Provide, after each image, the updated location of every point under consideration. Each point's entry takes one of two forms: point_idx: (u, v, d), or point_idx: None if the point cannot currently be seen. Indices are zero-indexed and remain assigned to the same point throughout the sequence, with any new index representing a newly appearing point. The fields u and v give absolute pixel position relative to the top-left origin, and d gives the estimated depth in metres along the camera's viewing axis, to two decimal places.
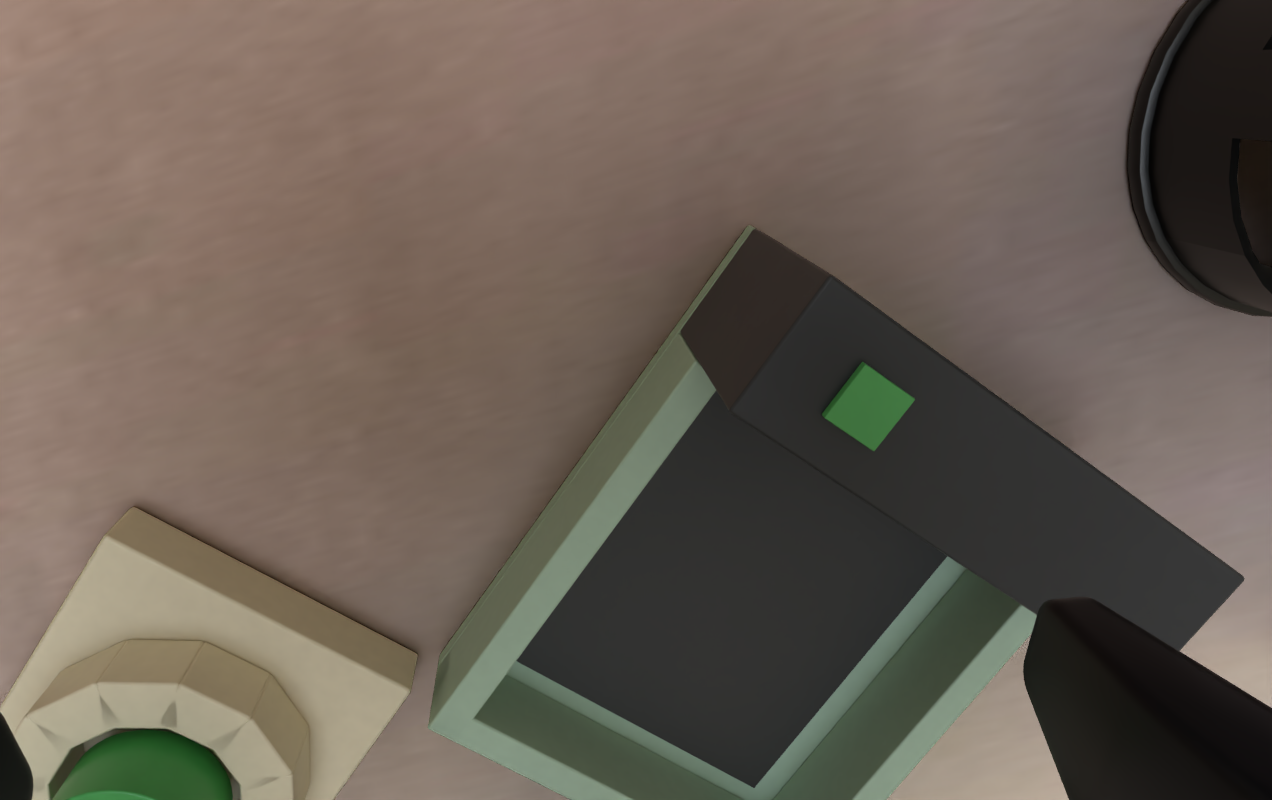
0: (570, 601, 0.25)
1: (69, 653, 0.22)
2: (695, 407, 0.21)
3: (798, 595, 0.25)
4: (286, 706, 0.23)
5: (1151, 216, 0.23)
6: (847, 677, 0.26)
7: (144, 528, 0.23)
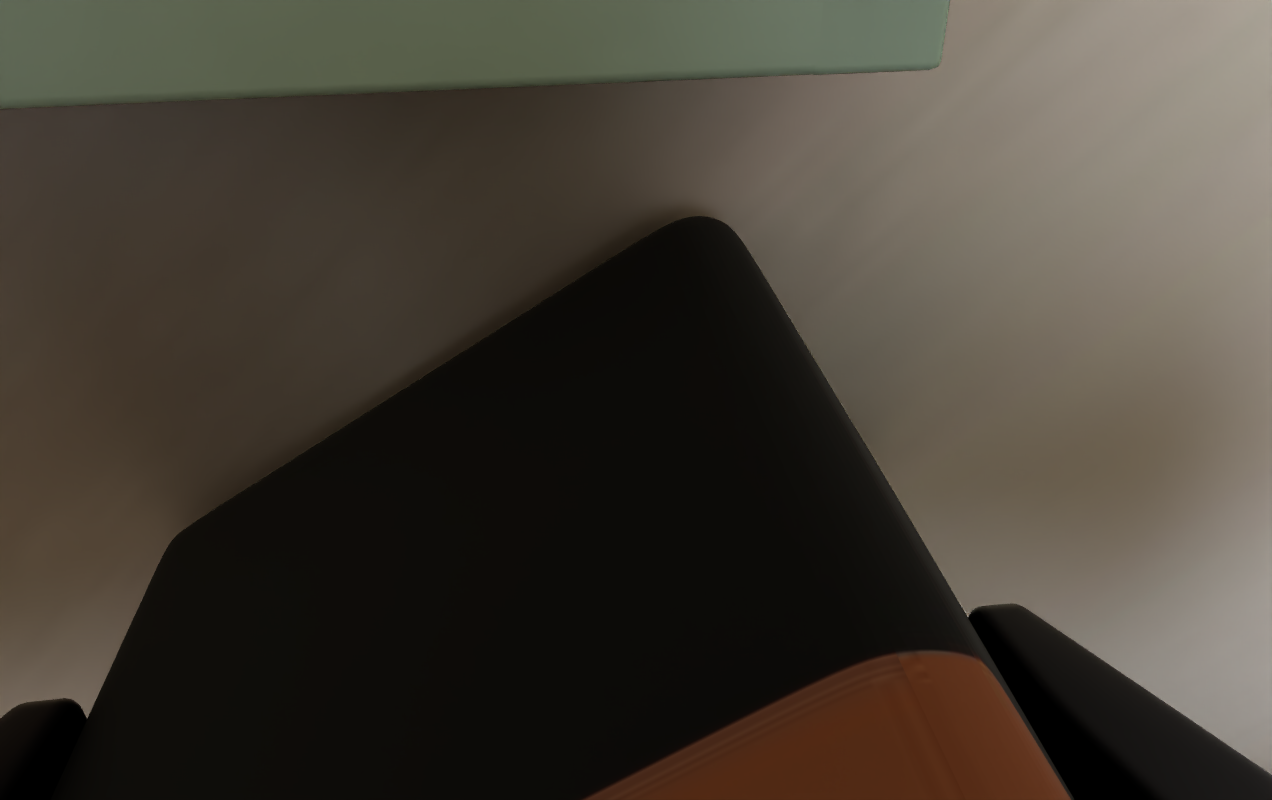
0: None
1: None
2: None
3: None
4: None
5: None
6: None
7: None
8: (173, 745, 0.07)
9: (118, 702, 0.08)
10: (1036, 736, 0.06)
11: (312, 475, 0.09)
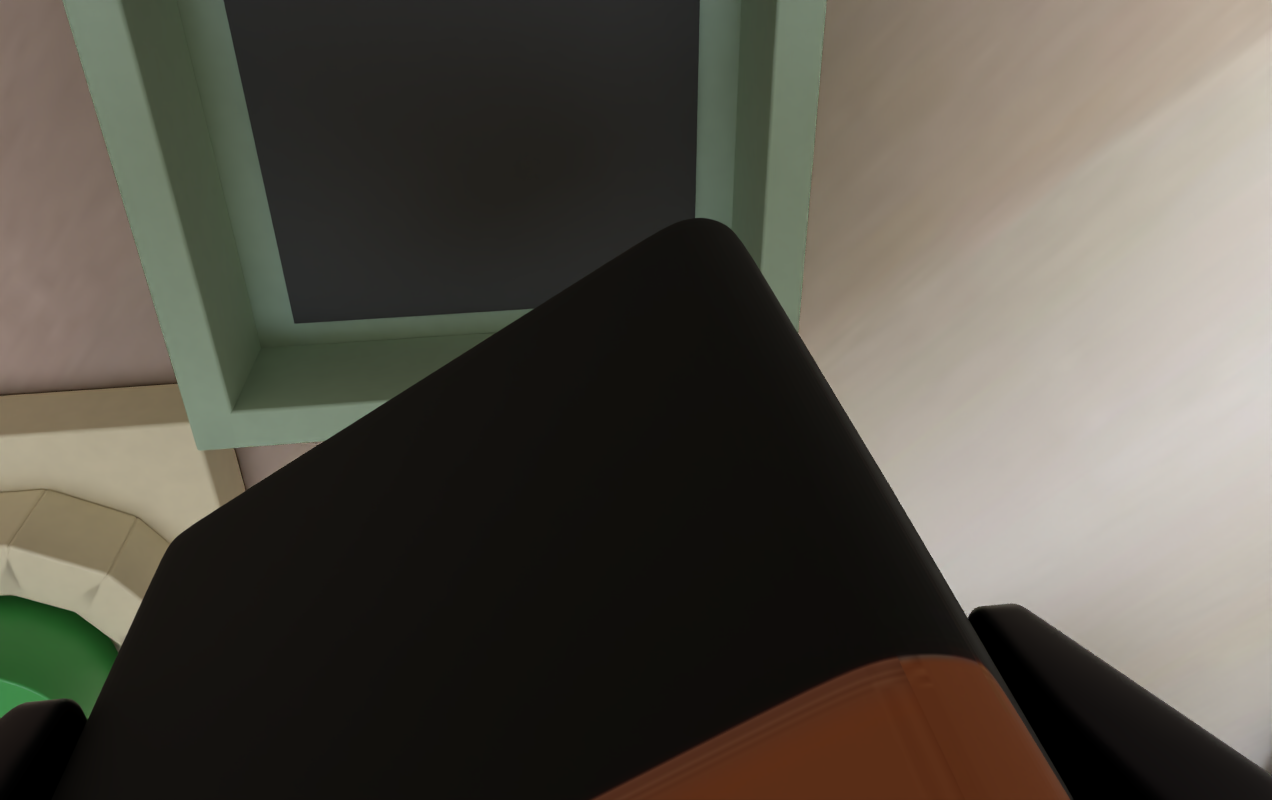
0: (285, 216, 0.18)
1: None
2: None
3: (548, 20, 0.17)
4: (82, 511, 0.19)
5: None
6: (700, 87, 0.18)
7: None
8: (174, 750, 0.07)
9: (118, 704, 0.08)
10: (1037, 738, 0.06)
11: (312, 477, 0.09)
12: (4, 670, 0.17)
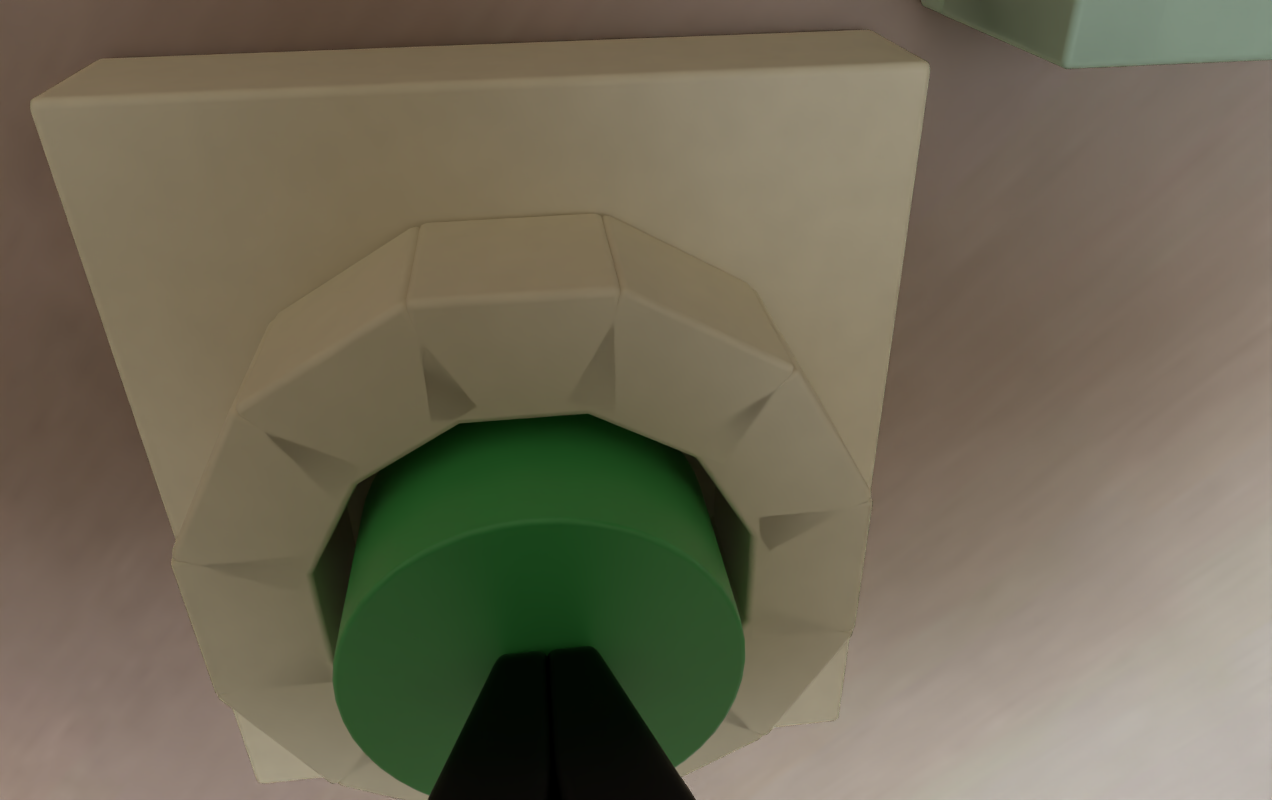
0: None
1: (201, 411, 0.10)
2: None
3: None
4: (680, 258, 0.09)
5: None
6: None
7: (132, 70, 0.09)
8: None
9: None
10: None
11: None
12: (637, 517, 0.08)
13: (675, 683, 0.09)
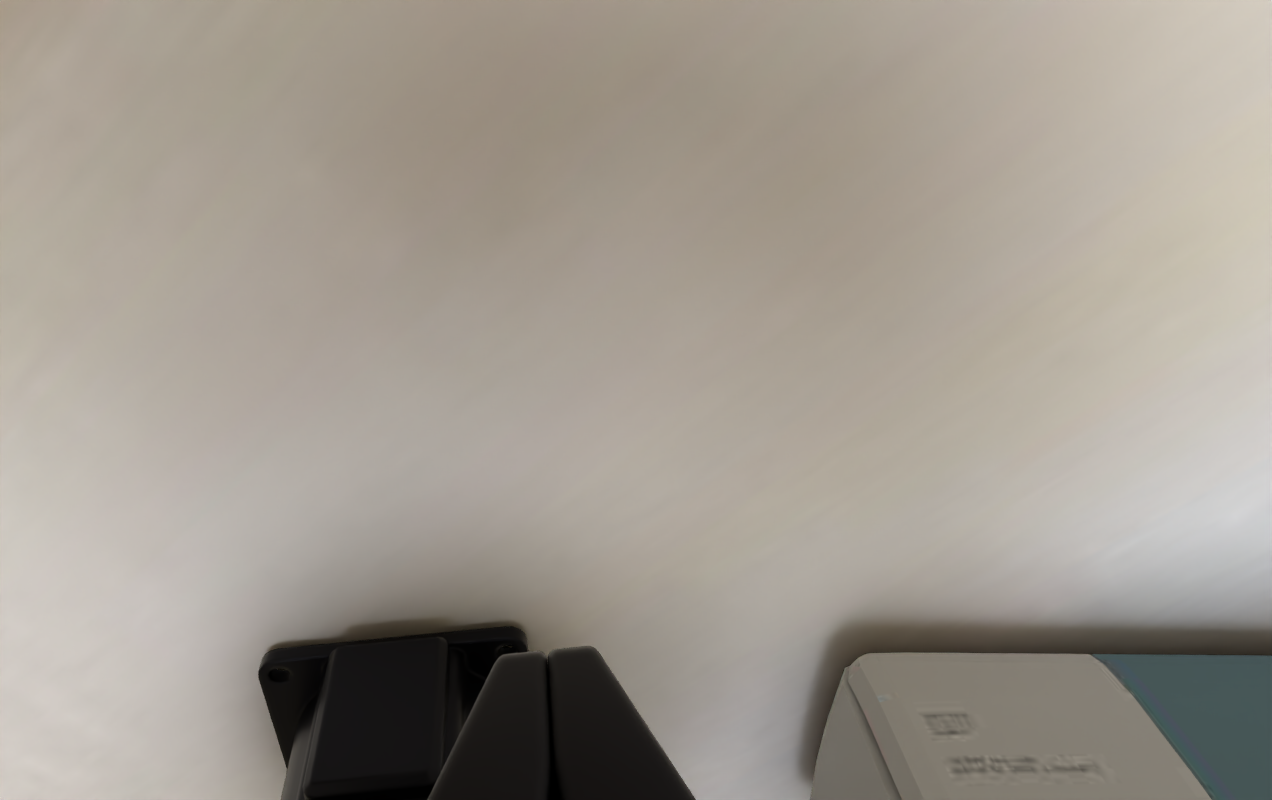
0: None
1: None
2: None
3: None
4: None
5: None
6: None
7: None
8: None
9: None
10: None
11: None
12: None
13: None
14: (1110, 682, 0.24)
